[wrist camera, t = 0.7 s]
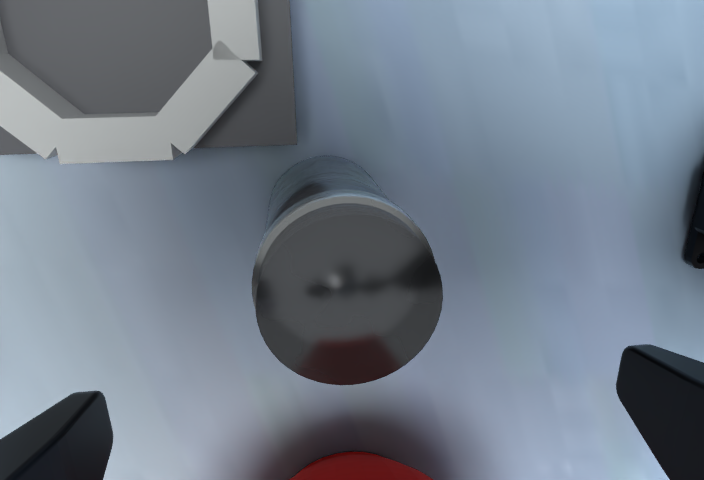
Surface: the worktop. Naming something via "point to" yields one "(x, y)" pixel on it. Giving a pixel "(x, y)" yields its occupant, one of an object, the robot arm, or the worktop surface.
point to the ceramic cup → (358, 468)
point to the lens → (342, 276)
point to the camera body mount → (144, 77)
